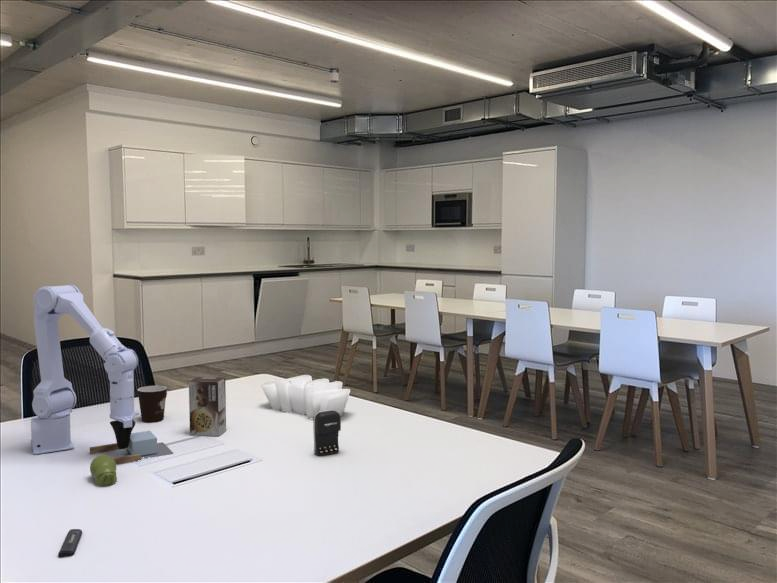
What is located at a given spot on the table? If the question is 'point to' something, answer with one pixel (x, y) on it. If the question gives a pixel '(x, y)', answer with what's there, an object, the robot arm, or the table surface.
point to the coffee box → (207, 406)
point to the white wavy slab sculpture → (306, 395)
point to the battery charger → (326, 432)
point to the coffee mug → (152, 403)
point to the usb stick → (70, 543)
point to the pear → (104, 470)
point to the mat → (159, 451)
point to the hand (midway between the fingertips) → (123, 448)
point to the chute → (118, 459)
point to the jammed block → (142, 443)
